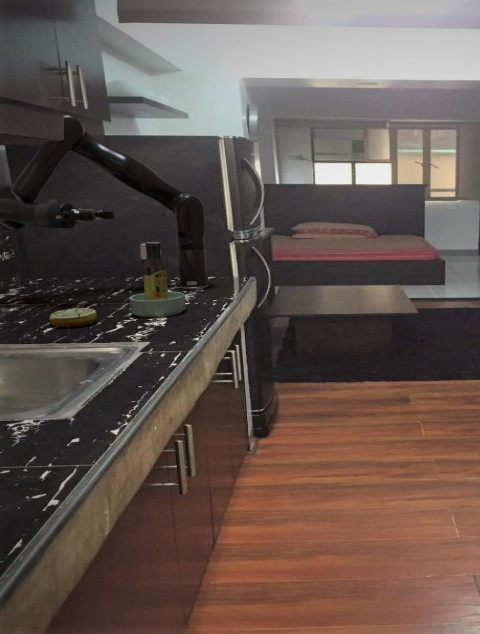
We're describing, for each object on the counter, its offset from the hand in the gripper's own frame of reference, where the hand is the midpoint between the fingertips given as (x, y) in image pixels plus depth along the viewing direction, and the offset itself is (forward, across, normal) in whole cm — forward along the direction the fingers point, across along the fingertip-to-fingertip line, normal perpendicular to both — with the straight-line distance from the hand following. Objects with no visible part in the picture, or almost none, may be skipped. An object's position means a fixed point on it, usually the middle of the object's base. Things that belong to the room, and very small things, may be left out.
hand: (103, 216), depth 177 cm
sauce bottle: (+18, -4, +27) cm, 32 cm away
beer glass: (-15, +42, +28) cm, 52 cm away
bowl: (+18, -4, +28) cm, 33 cm away
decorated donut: (+5, -22, +28) cm, 35 cm away
